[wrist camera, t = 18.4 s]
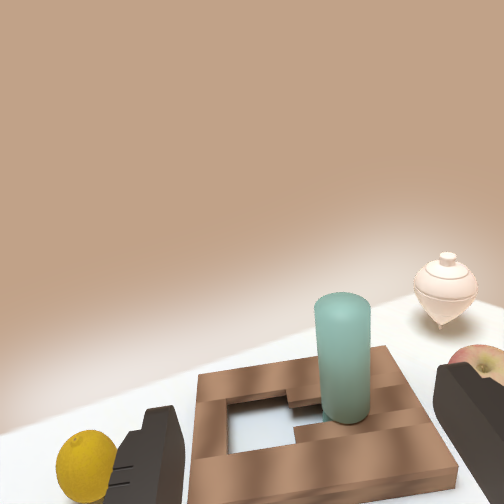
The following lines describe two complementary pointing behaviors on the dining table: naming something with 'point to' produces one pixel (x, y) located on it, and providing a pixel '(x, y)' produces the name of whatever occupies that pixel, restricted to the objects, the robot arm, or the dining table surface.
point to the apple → (483, 360)
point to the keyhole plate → (317, 442)
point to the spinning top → (445, 288)
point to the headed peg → (343, 356)
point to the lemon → (86, 466)
